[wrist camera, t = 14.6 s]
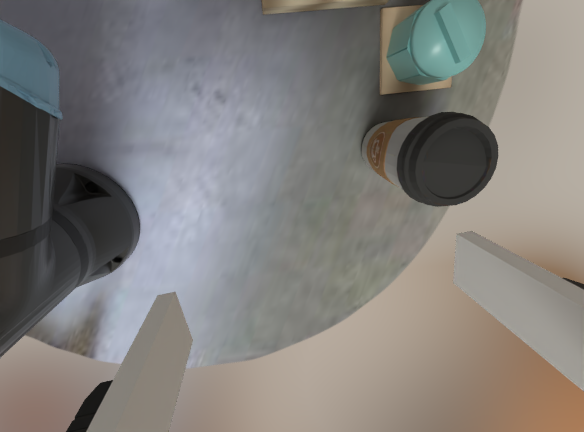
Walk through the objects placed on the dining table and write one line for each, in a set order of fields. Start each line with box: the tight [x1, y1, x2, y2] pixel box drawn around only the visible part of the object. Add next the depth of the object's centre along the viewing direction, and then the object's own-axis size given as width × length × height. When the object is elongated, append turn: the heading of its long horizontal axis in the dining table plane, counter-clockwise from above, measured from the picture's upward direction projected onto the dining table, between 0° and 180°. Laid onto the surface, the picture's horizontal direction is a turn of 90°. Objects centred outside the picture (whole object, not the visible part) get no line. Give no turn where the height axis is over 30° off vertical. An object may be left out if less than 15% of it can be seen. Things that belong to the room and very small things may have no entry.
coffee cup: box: [362, 112, 498, 206], centre depth 30 cm, size 8×8×15 cm
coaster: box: [380, 5, 452, 95], centre depth 34 cm, size 9×9×1 cm
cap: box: [386, 0, 486, 85], centre depth 30 cm, size 7×7×7 cm
